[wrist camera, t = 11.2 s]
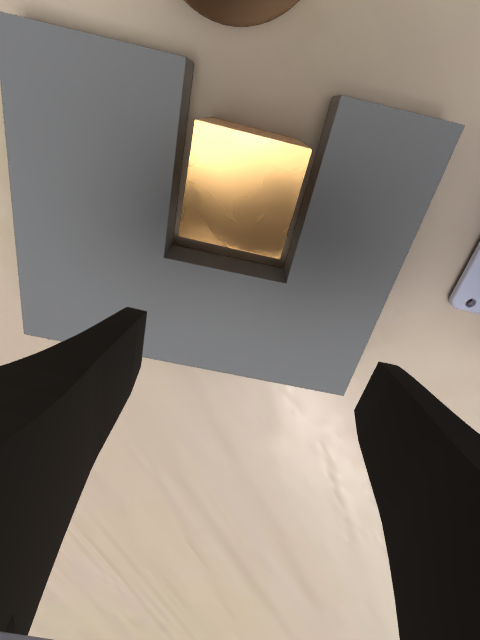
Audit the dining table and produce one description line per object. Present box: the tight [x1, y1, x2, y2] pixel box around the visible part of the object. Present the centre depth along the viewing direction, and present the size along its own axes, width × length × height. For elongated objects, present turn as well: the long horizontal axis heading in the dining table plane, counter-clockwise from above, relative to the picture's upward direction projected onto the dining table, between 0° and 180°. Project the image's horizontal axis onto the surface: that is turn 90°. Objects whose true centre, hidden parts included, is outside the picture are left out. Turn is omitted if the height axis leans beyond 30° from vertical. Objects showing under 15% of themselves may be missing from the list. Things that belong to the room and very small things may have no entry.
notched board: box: [0, 12, 465, 396], centre depth 18 cm, size 18×14×2 cm
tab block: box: [178, 117, 312, 259], centre depth 16 cm, size 4×4×5 cm
